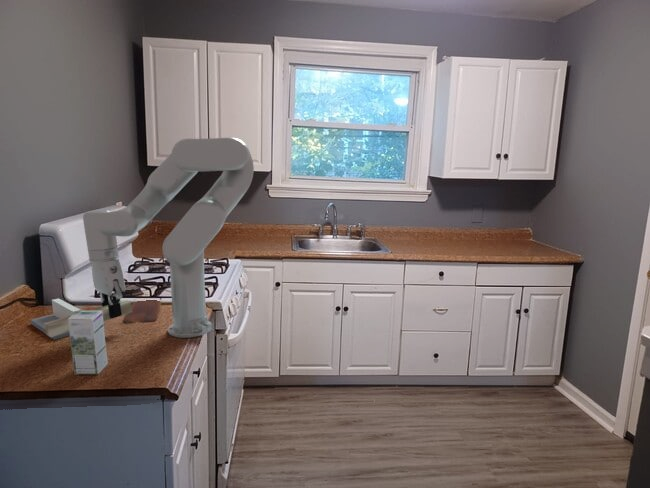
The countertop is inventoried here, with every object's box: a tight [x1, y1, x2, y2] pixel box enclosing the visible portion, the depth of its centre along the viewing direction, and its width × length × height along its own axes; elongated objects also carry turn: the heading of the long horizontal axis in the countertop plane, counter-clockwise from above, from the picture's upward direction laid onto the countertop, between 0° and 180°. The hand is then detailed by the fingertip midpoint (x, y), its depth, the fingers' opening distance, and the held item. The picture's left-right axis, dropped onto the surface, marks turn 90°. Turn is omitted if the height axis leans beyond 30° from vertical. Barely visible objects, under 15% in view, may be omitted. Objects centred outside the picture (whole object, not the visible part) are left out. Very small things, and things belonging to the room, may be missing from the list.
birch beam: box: [44, 299, 132, 338], centre depth 123 cm, size 3×22×3 cm, turn 141°
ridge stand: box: [30, 297, 105, 341], centre depth 135 cm, size 18×14×6 cm
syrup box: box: [68, 310, 108, 376], centre depth 106 cm, size 6×6×14 cm
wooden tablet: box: [123, 300, 162, 324], centre depth 150 cm, size 27×10×2 cm, turn 15°
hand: (112, 315), depth 128 cm, fingers closed on birch beam, 3 cm apart
